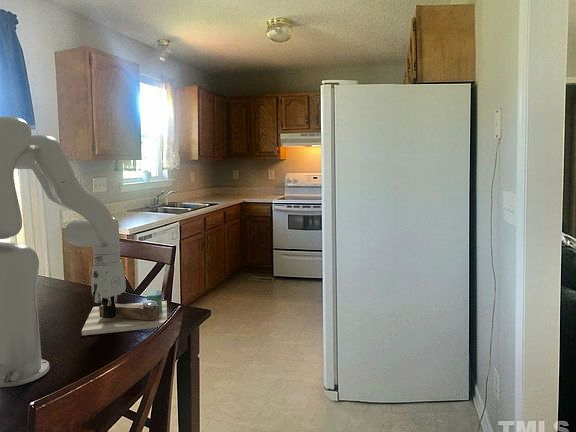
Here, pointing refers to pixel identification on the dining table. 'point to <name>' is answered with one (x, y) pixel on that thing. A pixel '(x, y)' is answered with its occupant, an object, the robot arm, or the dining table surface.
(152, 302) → the disc
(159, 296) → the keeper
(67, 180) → the robot arm
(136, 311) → the link
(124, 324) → the board
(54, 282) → the dining table surface
